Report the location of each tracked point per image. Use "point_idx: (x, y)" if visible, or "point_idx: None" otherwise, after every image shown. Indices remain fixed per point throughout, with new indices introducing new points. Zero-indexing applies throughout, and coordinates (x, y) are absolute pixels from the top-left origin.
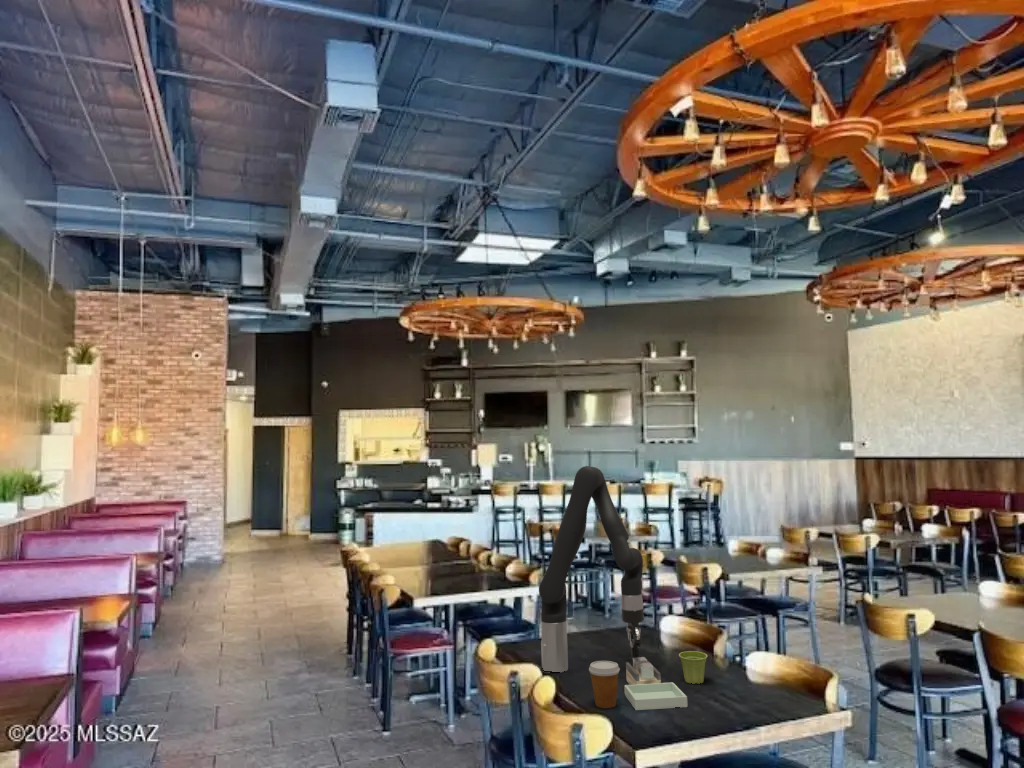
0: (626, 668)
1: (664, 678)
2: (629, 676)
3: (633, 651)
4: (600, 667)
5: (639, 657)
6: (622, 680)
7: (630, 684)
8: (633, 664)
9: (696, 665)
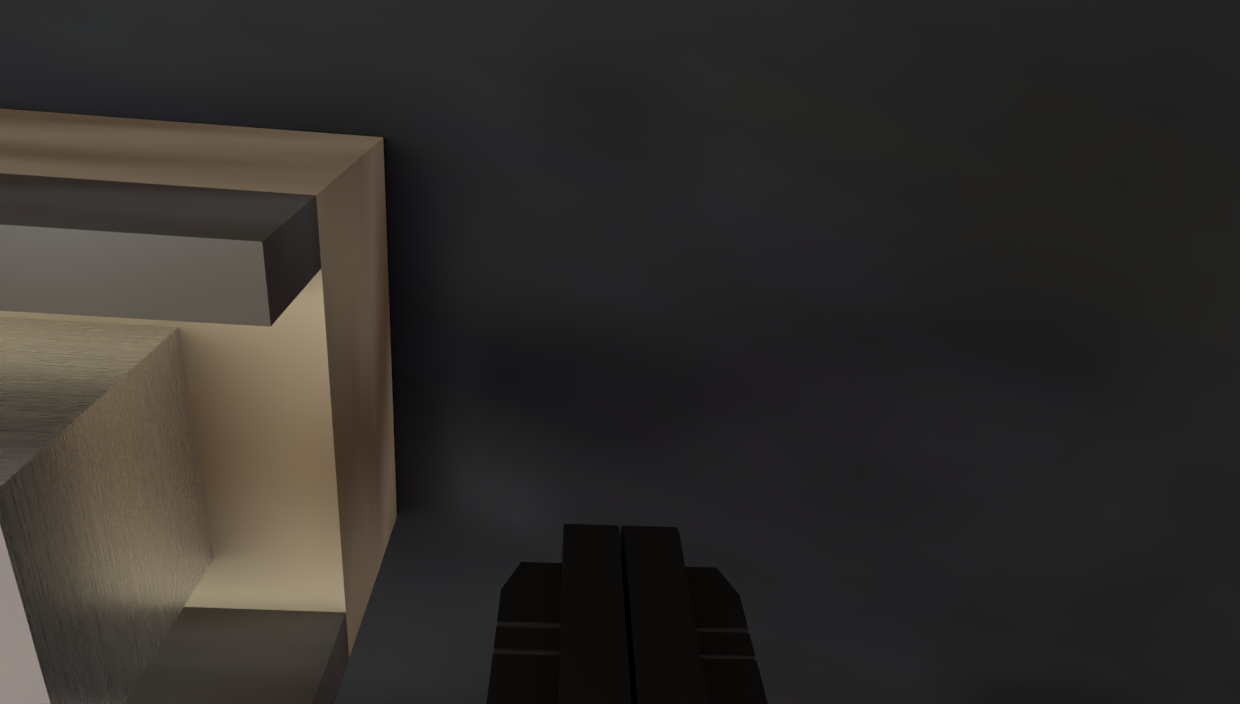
0: (257, 195)
1: (404, 692)
2: (10, 148)
3: (546, 684)
4: None
5: (21, 673)
6: (412, 60)
7: (33, 115)
8: (38, 389)
9: None
